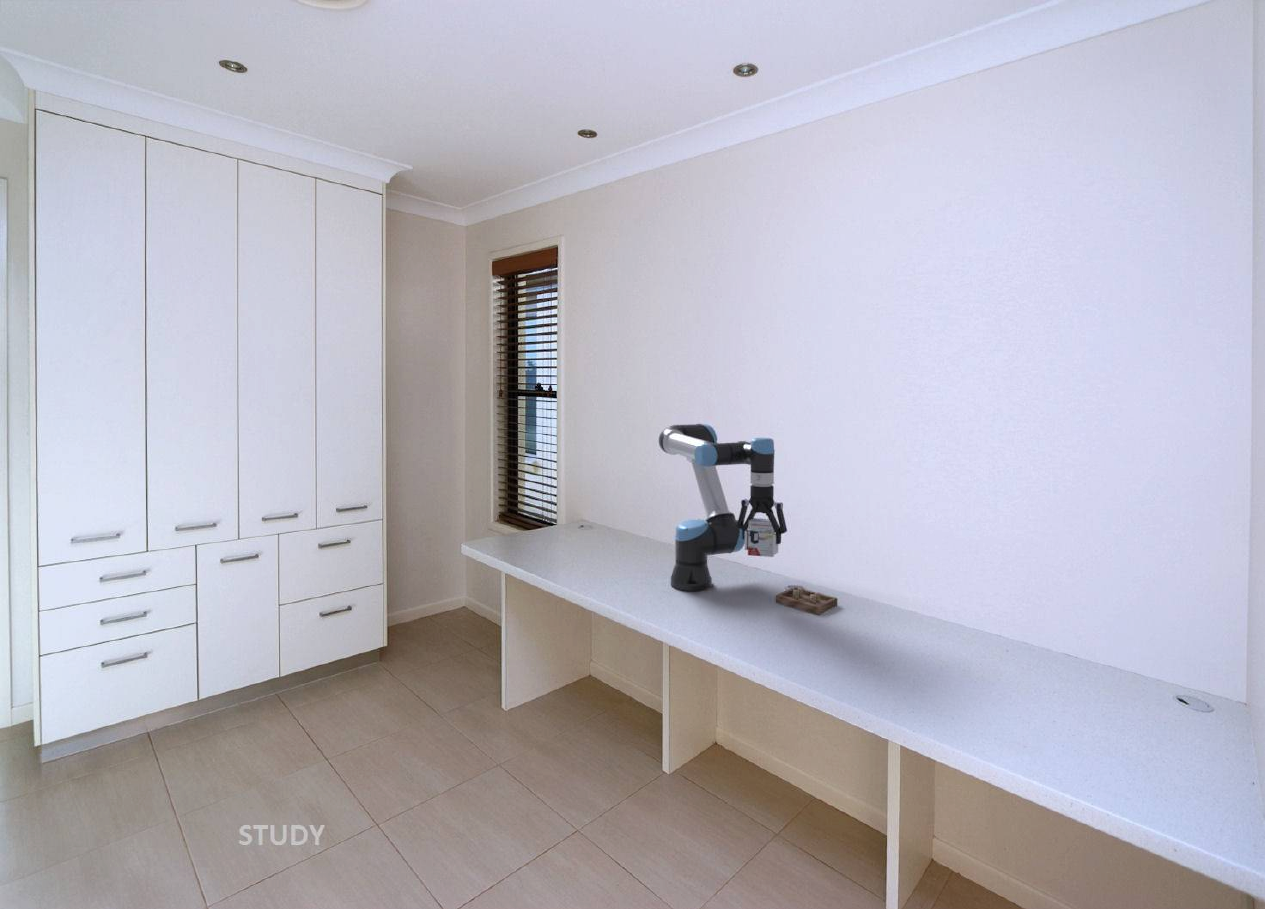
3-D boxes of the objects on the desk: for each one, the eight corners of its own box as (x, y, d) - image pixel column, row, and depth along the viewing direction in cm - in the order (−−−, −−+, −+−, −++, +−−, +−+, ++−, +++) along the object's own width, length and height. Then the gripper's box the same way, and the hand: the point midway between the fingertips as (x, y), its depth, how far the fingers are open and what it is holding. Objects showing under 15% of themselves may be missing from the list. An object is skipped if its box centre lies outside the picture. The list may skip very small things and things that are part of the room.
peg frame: (775, 602, 209) (776, 590, 209) (794, 593, 217) (795, 582, 217) (818, 615, 198) (819, 602, 197) (837, 605, 206) (837, 593, 206)
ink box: (747, 555, 205) (747, 520, 204) (748, 551, 210) (749, 517, 209) (773, 557, 203) (774, 522, 202) (774, 553, 208) (775, 518, 206)
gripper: (726, 483, 207) (726, 549, 210) (790, 489, 195) (789, 558, 197) (736, 480, 213) (735, 544, 216) (798, 485, 201) (797, 553, 203)
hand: (761, 551), depth 207 cm, fingers closed on ink box, 9 cm apart
